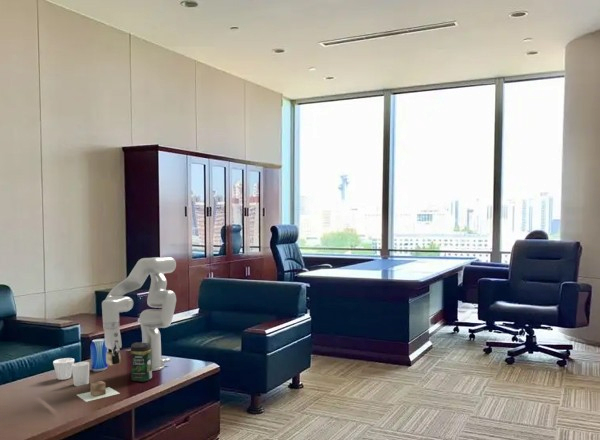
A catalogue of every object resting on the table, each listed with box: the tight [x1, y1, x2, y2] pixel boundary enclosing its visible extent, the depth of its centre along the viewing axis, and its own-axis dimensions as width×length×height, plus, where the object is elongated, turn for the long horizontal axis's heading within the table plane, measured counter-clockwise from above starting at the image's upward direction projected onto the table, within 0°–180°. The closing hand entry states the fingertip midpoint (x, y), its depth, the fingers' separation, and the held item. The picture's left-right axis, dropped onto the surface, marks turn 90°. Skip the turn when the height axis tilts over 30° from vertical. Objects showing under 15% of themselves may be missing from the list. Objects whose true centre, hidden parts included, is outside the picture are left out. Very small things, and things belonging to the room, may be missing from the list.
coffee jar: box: [130, 341, 153, 383], centre depth 259 cm, size 10×8×19 cm
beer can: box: [89, 338, 109, 372], centre depth 281 cm, size 8×8×16 cm
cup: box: [52, 357, 75, 381], centre depth 267 cm, size 10×10×9 cm
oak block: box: [106, 350, 122, 366], centre depth 252 cm, size 5×5×5 cm
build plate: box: [76, 386, 121, 403], centre depth 235 cm, size 15×13×1 cm
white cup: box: [72, 361, 90, 387], centre depth 256 cm, size 8×8×10 cm
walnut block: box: [89, 380, 107, 397], centre depth 235 cm, size 5×5×5 cm
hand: (113, 362), depth 252 cm, fingers closed on oak block, 5 cm apart
